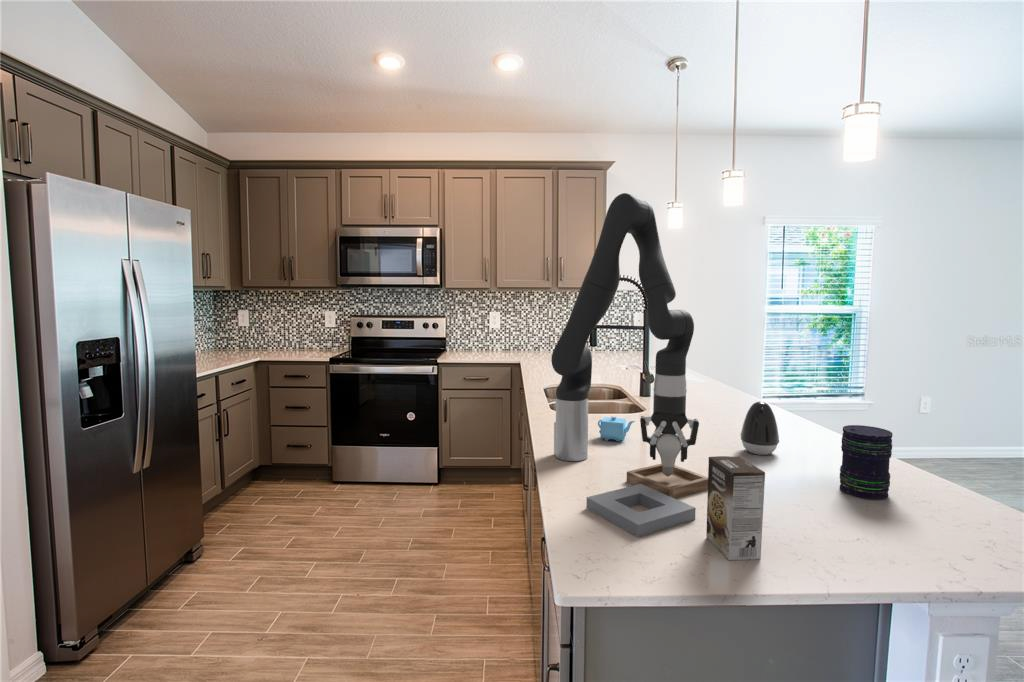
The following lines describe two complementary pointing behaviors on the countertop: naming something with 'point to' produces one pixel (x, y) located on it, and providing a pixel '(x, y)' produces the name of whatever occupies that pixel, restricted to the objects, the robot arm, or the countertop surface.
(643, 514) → the socket block
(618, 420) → the teapot
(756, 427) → the black egg-shaped device
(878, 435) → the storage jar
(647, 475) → the tray
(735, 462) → the coffee box
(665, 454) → the lightbulb
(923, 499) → the countertop surface
